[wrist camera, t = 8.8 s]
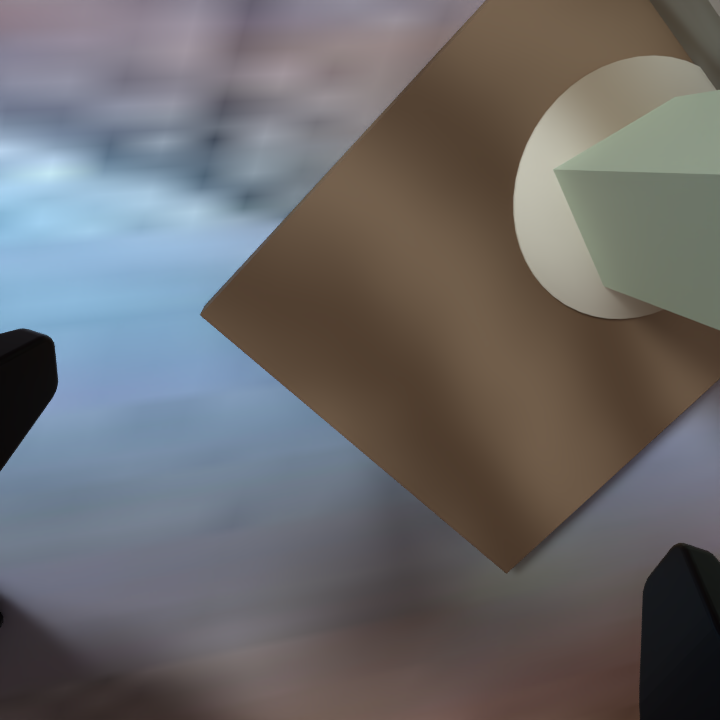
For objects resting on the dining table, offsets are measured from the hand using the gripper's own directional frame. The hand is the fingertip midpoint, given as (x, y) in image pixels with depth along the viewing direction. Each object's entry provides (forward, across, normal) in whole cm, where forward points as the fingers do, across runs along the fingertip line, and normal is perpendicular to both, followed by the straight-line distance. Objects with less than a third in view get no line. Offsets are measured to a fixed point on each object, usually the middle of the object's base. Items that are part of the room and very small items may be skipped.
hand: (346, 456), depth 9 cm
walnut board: (+13, -3, +2) cm, 14 cm away
